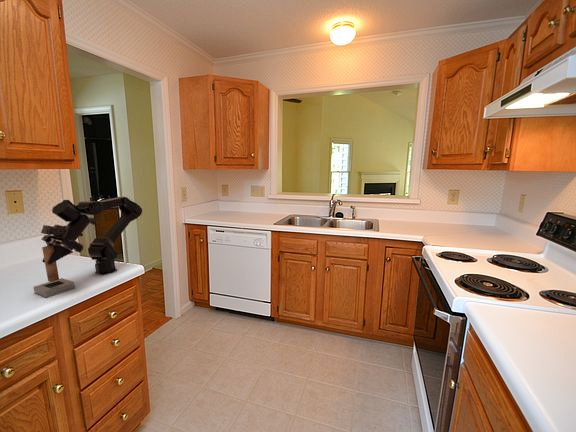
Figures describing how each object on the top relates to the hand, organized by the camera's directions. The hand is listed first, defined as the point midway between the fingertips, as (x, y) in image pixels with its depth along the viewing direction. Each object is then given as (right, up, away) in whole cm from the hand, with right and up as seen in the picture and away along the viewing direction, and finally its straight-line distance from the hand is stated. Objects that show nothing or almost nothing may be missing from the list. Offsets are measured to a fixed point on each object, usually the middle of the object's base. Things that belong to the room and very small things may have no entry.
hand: (45, 263), depth 101 cm
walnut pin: (+1, -7, +2) cm, 7 cm away
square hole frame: (+1, -11, +3) cm, 12 cm away
